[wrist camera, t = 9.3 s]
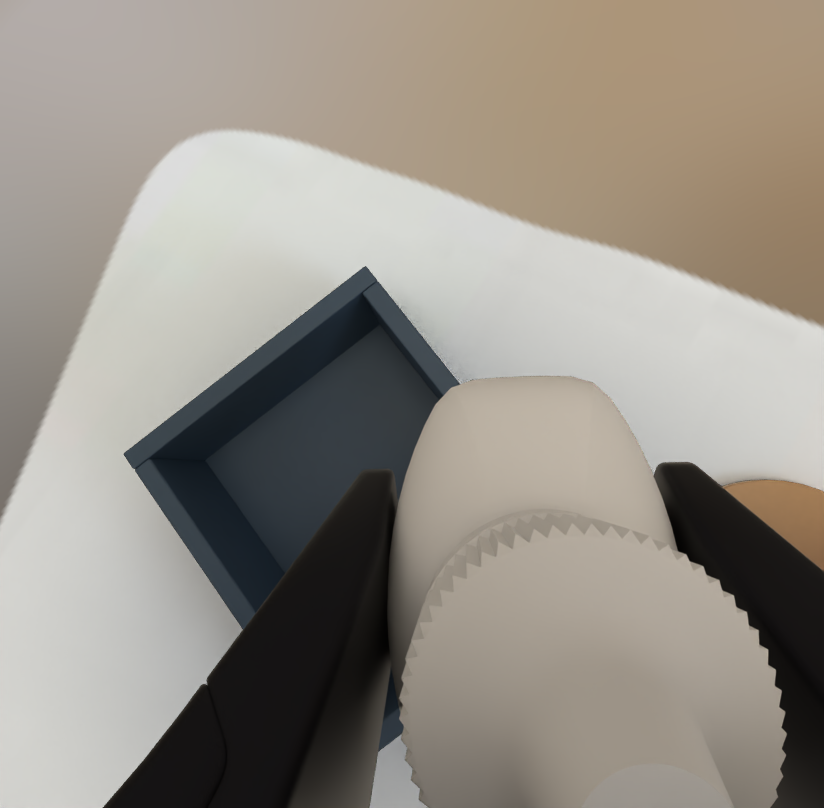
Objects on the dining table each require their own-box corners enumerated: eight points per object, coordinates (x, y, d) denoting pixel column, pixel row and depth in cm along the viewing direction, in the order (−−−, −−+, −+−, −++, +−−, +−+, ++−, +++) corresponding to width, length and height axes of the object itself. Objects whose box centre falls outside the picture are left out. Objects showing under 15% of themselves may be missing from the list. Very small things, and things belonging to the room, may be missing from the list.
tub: (581, 552, 21) (610, 572, 17) (367, 718, 21) (343, 779, 17) (383, 303, 22) (365, 264, 18) (185, 457, 22) (122, 453, 18)
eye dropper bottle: (636, 480, 14) (1507, 487, 2) (528, 700, 14) (916, 2051, 2) (469, 395, 15) (488, 58, 3) (361, 605, 14) (-124, 1193, 3)
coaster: (964, 636, 19) (975, 639, 19) (757, 797, 19) (763, 804, 19) (782, 429, 21) (789, 428, 20) (587, 581, 21) (589, 583, 20)
